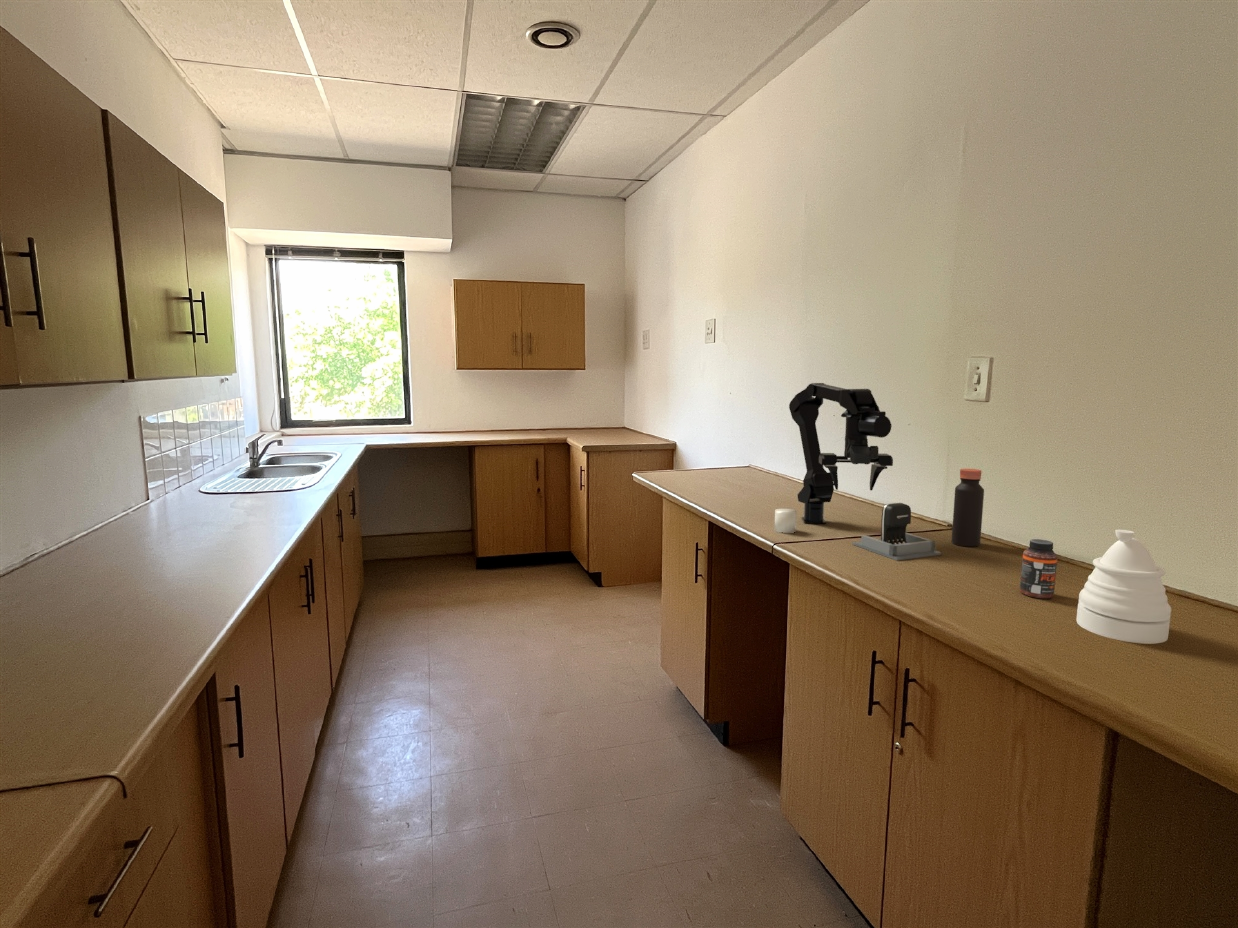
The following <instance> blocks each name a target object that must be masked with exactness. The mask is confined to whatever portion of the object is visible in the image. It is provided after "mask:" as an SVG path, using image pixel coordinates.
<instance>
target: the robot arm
mask: <svg viewBox="0 0 1238 928" xmlns="http://www.w3.org/2000/svg"><path fill="white" fill-rule="evenodd" d="M824 400H828V401H831V402H835V403H838V404H839V406H840V407H842V408H844V409H846V410H845V411H843V412H842V414H841V415H840V416H841V418H845V433H844V435H845V436H844V451H843V455H837V453H834V452H821V451H822V450H821V447H820V442H819V436H818V429H817V426H816V424H817V423H816V422H817V421H818V417H819V415H820V411H819V409H820V408H821V406H822V405H823V404H824ZM788 409H789V413H790V416H791V419H792V420H793V421H794V422H795V423H796V425H797V426H798V428H799V435H800V439H801V444H802V445H801V446H802V451H803V457H804V462H805V467H806V468H805V469H806V473H805V475H804V477H803V481H802V483H803V487H802V488H801V490H800V491H799V492H798V493H797V501H798V502H800V503H803V504H804V511H803V516H801V521H802V522H803V524H817V525H818V524H823V525H825V524H827V521H826V520H825V519H824V513H825V512H824V510H825V509H824V508H825V503H831V500H832V498H833V493H834V491H835V490H836V491H838V490H839V478H838V468H839V467H838V465H836V464H837V463H847V464H849V463H850V464H853V465H859V464H860V465H869V464H871V466H870V467H871V468H870V477H869V491H873V489H874V487H875V485H876V483H877V479H878V478H879V476H880V474H881V472H882V471H884V470H887V469H888V467H892V466H893V465H894V464H893V463H894V458H893V456H892V455H890V454H888V453H879V446H878V445H870V446H869V443H868V437H875V438H882V439H883V438H885V437H887V436H889V434H890V433H891V431H892V422H891V420H890V418H889V417H888V416H886V411H884V410H883V411H881V410H880V407H879V405H878V404H877V402H876V400H875V397H874V395H873V393H872V390H871V389H870V388H843V387H839V386H834V385H829V384H826V383H824V382H811V383H809V384H808V385H807V386H806V387H805V388H804V389H802V390H801V391H800V392H798V393H797V394H795V395H794V396H793V398H792V399H791V400H790V402H789V404H788ZM824 467H825V468H827V469H828V471H826V469H825V468H824Z"/></svg>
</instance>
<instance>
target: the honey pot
mask: <svg viewBox="0 0 1238 928" xmlns="http://www.w3.org/2000/svg"><path fill="white" fill-rule="evenodd" d="M1114 531H1115V536H1116V539H1118V540H1116V542H1114V543H1113V544H1112V545H1110V547H1109V548H1108V549H1107V550H1106V551H1105V553H1104V554H1103V555H1102V556H1100V557H1097V558H1094V559H1093V561H1092V564H1093V567H1094V568H1093V571H1092V572H1091V574H1089V575H1088V577H1087V581H1086V582H1085V583H1084V587H1083V588H1082V589H1081V590H1080V592H1079V594H1078V600H1077V601H1078V603H1077V611H1076V623H1077V625H1079V627H1081V628H1083V629H1085V630H1086V631H1088V632H1091V633H1093V634H1096V635H1098V636H1102V637H1105V638H1108V639H1112V640H1118V641H1121V642H1128V643H1132V644H1133V643H1134V644H1145V645H1148V644H1149V645H1150V644H1151V645H1152V644H1161V643H1165V642H1167V641H1168V638H1169V633H1170V632H1169V631H1170V623H1171V613H1172V606H1171V605H1170V604H1169V603H1168V596H1167V595H1166V589H1167V588H1165V586H1164V584H1163V581H1162V577H1164V576H1165V575H1166V572H1167V571H1166V570H1165V569H1164V567H1162V566H1160V565H1158V564H1156V562H1155V560H1154V557H1152V556H1153V555H1151V553H1150V551H1149V550H1148V548H1147V547H1146V546H1145V544H1144V543H1142V542H1141V540H1139V539H1138V538H1135V537H1134V536H1135V531H1132V530H1129V529H1115V530H1114Z"/></svg>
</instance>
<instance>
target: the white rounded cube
mask: <svg viewBox="0 0 1238 928" xmlns="http://www.w3.org/2000/svg"><path fill="white" fill-rule="evenodd" d="M796 531H797V510H796V509H793V508H776V509H774V532H775V533H779V532H783V533H782V534H795V533H796ZM794 532H795V533H794Z"/></svg>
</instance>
